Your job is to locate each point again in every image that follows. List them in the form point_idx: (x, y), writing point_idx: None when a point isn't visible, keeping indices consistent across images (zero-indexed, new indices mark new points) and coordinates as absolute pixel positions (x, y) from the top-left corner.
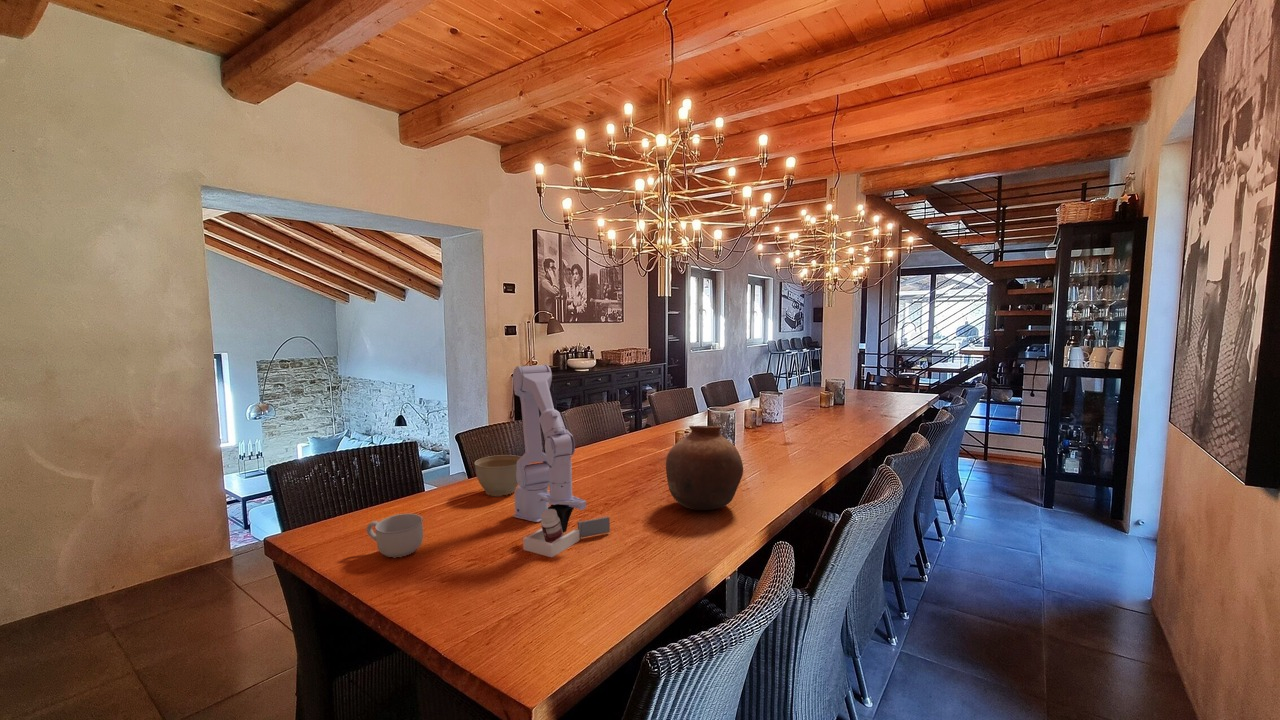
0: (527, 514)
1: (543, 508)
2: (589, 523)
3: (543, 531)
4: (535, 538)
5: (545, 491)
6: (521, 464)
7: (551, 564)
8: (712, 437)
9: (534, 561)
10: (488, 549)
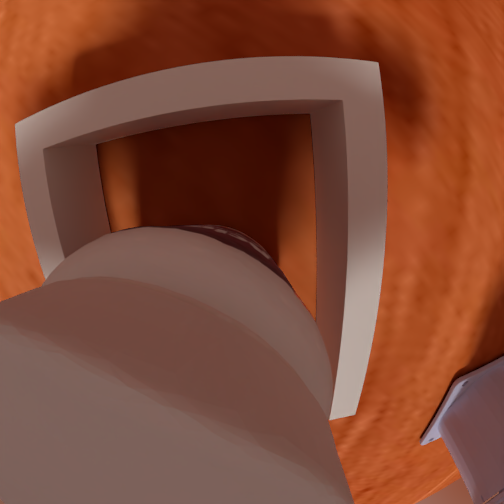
0: (502, 377)
1: (461, 436)
2: None
3: (220, 233)
4: (332, 195)
5: (478, 492)
6: None
7: (27, 76)
8: None
9: (126, 18)
10: (480, 35)
